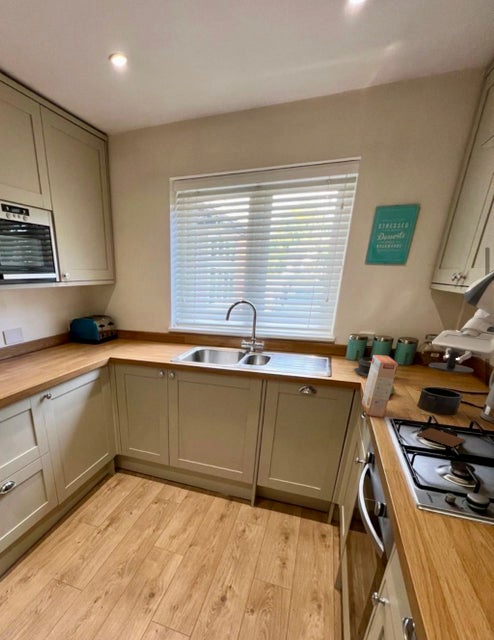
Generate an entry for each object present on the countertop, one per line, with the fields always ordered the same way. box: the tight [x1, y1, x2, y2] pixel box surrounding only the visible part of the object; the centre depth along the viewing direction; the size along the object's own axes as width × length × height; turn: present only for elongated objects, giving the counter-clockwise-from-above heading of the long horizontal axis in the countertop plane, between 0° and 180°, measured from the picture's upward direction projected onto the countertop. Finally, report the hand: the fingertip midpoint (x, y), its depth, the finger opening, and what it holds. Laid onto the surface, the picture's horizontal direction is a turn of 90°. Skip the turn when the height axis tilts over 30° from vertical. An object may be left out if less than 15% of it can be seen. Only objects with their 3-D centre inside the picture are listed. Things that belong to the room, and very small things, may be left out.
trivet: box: [416, 427, 466, 448], centre depth 107 cm, size 10×10×1 cm
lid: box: [428, 352, 475, 374], centre depth 121 cm, size 13×13×7 cm
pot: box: [416, 386, 464, 419], centre depth 128 cm, size 12×18×8 cm
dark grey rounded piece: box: [354, 356, 373, 378], centre depth 177 cm, size 25×19×8 cm
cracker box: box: [361, 354, 399, 418], centre depth 126 cm, size 14×6×21 cm, turn 161°
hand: (451, 360), depth 121 cm, fingers closed on lid, 2 cm apart
